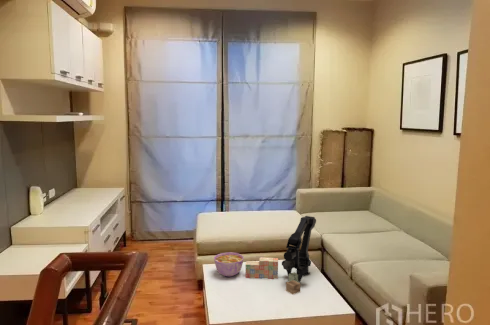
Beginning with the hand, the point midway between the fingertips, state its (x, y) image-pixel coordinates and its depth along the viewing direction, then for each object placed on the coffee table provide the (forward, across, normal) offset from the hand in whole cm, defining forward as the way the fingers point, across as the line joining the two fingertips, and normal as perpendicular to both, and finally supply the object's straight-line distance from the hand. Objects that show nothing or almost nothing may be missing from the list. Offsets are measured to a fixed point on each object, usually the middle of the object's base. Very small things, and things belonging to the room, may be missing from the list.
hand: (294, 279), depth 244 cm
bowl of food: (+2, -34, -28) cm, 44 cm away
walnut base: (+1, +10, -10) cm, 14 cm away
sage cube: (+2, 0, 0) cm, 2 cm away
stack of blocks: (+2, -18, -12) cm, 22 cm away
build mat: (+2, +10, -11) cm, 15 cm away
